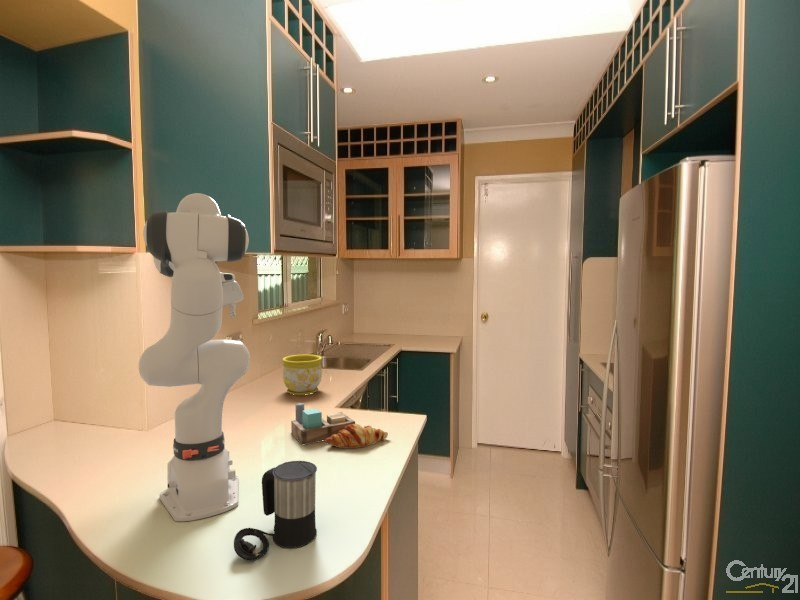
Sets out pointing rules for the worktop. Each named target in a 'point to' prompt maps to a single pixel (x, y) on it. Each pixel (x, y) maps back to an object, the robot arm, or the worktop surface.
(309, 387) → the flowerpot
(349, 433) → the croissant
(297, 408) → the block
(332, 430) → the tray
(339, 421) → the oak block
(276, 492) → the milk frother
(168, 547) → the worktop surface
